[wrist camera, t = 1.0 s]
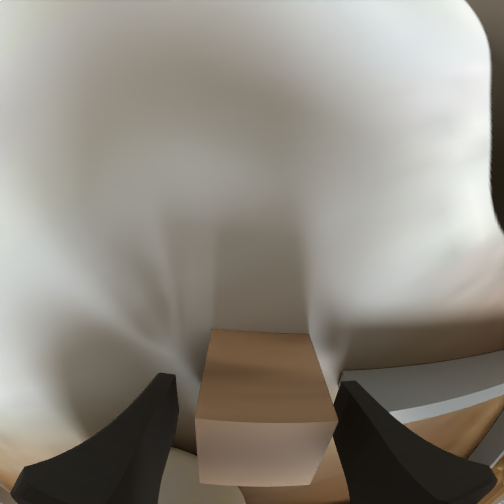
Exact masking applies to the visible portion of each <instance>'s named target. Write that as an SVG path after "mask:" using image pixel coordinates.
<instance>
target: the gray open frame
mask: <svg viewBox="0 0 504 504" xmlns="http://www.w3.org/2000/svg"><path fill="white" fill-rule="evenodd" d="M354 380H356V381H357V382H358V383H359V384H360V385H361V386H362V387H363V388H364V389H365V390H366V391H367V392H368V393H369V394H370V395H371V396H372V397H373V398H374V399H375V400H376V401H377V402H378V403H379V404H380V405H381V406H382V407H383V408H385V409H386V410H387V411H388V412H389V413H390V414H391V415H392V416H393V417H395V418H396V419H397V420H398V421H399V422H401V423H402V424H403V423H408V422H413V421H418V420H422V419H427V418H431V417H435V416H439V415H442V414H446V413H450V412H453V411H457V410H460V409H463V408H467V407H470V406H473V405H476V404H479V403H482V402H485V401H488V400H490V399H493V398H496V397H498V396H501V395H503V394H504V350H501V351H497V352H492V353H487V354H483V355H478V356H472V357H467V358H461V359H456V360H449V361H443V362H436V363H429V364H421V365H413V366H404V367H394V368H382V369H369V370H351V371H343V373H342V376H341V379H340V382H339V385H338V388H339V387H340V384H341V381H354ZM503 455H504V410H503V411H502V413H501V414H500V416H499V417H498V419H497V420H496V422H495V423H494V425H493V426H492V427H491V429H490V430H489V432H488V433H487V434H486V436H485V437H484V438H483V440H482V441H481V442H480V444H479V445H478V446H477V448H476V449H475V450H474V451H473V453H472V454H471V455H470V456H469V458H468V459H467V460H470V461H473V462H477V463H481V464H485V465H489V467H490V468H492V467H493V466H494V465H495V464H496V463H497V462H498V460H499V459H500V458H501V457H502V456H503Z"/></svg>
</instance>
